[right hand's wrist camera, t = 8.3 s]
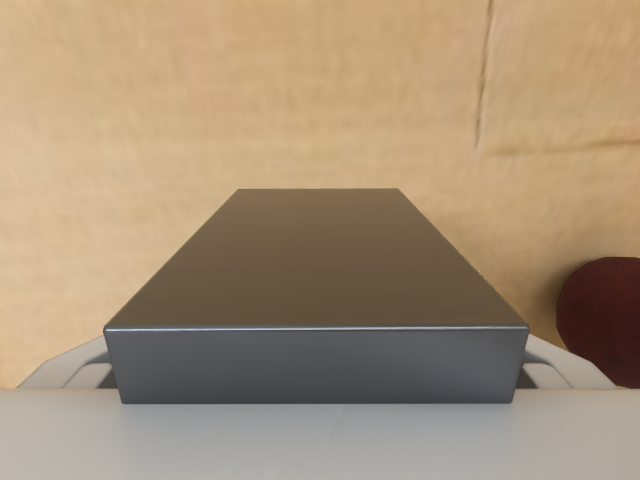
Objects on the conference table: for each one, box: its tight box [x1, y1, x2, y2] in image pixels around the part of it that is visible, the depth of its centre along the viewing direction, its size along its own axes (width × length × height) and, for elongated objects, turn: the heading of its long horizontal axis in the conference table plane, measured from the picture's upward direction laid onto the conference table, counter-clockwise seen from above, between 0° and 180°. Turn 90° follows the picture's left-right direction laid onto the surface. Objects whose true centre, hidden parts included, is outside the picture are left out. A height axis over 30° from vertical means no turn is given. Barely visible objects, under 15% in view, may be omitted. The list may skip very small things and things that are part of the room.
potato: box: [556, 257, 640, 389], centre depth 21 cm, size 7×8×7 cm
